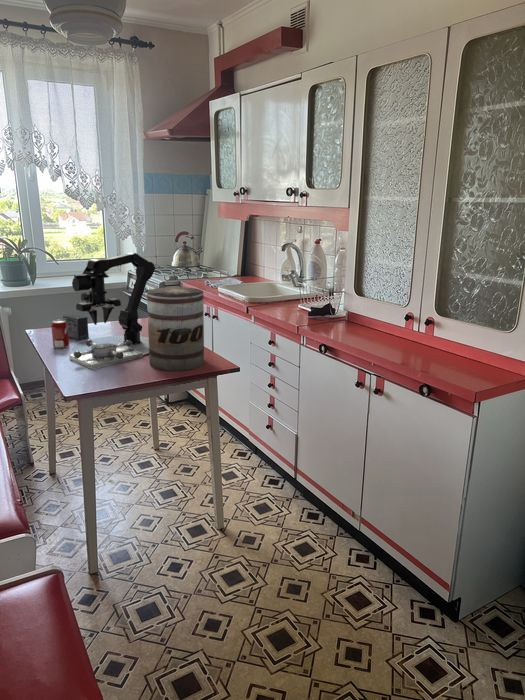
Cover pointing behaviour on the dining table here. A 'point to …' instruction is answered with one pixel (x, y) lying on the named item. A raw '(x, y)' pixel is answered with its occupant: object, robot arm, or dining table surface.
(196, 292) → the barrel
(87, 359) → the stand
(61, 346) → the soda can
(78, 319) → the small box
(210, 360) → the dining table surface
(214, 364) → the dining table surface
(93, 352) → the capstan
